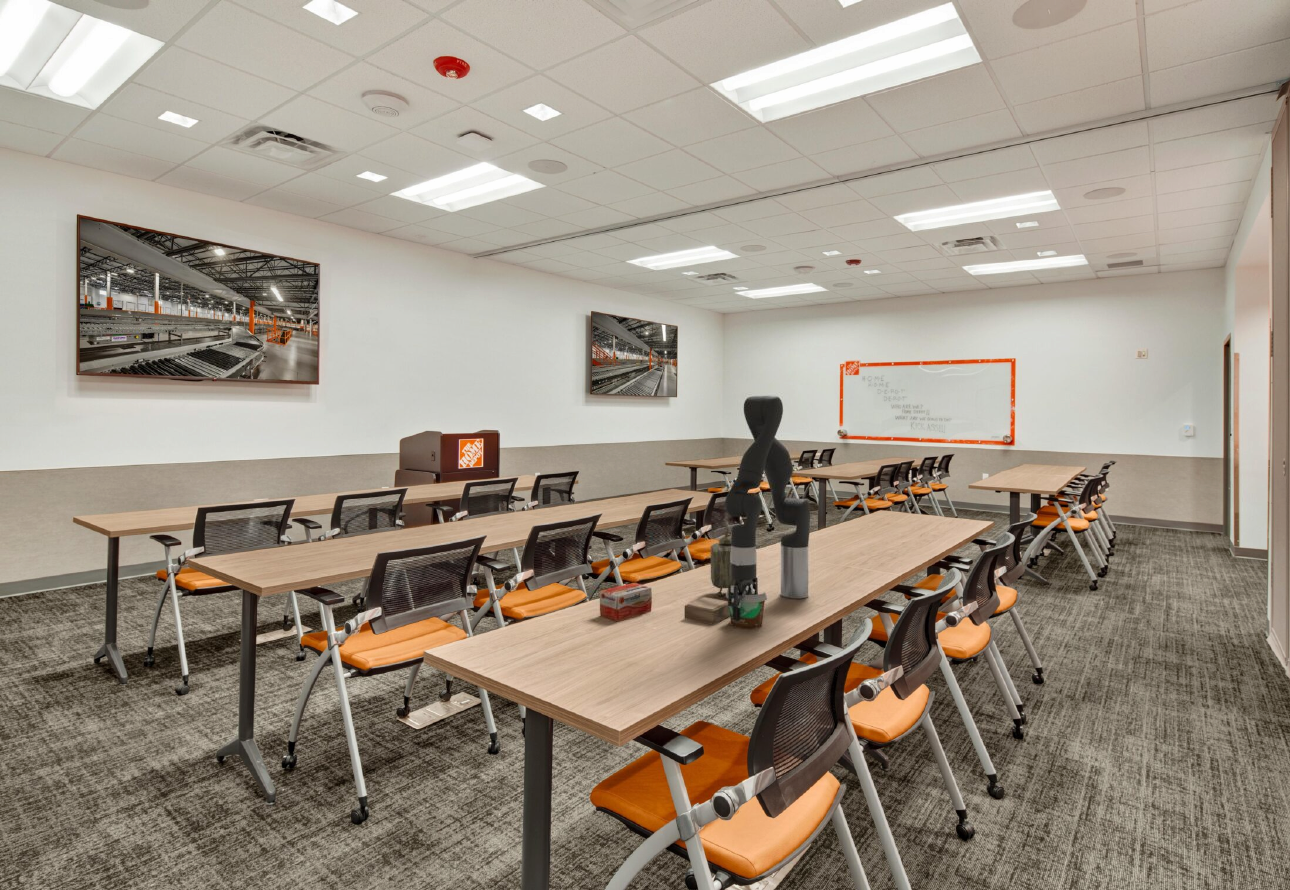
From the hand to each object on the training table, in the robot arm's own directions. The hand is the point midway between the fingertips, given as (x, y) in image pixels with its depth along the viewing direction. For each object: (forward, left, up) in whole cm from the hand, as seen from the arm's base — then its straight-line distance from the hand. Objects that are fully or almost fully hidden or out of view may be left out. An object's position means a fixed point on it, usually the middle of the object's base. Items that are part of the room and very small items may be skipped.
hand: (743, 616), depth 190 cm
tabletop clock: (-26, -20, -3) cm, 33 cm away
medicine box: (+9, -36, -3) cm, 37 cm away
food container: (0, 0, -3) cm, 3 cm away
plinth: (-2, -13, -3) cm, 13 cm away
